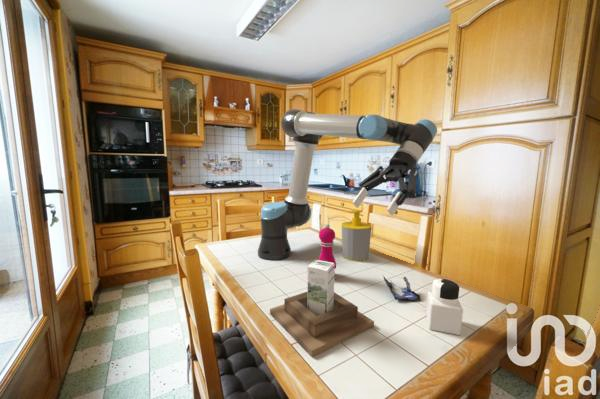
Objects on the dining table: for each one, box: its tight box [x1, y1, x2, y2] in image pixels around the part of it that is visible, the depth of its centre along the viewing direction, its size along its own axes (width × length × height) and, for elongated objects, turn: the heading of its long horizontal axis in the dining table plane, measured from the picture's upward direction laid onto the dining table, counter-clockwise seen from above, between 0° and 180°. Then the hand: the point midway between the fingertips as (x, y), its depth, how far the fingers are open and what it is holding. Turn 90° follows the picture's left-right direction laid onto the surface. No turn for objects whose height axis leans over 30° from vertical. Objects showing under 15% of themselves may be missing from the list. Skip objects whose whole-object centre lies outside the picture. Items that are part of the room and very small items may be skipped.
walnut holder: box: [269, 291, 375, 358], centre depth 73 cm, size 20×20×5 cm
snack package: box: [382, 275, 421, 302], centre depth 87 cm, size 12×6×12 cm
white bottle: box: [425, 278, 464, 336], centre depth 70 cm, size 7×7×12 cm
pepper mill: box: [317, 223, 337, 278], centre depth 99 cm, size 7×7×20 cm
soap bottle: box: [341, 209, 372, 262], centre depth 120 cm, size 13×13×21 cm
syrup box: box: [307, 259, 336, 316], centre depth 72 cm, size 6×6×14 cm
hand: (371, 208), depth 81 cm, fingers open, 13 cm apart
